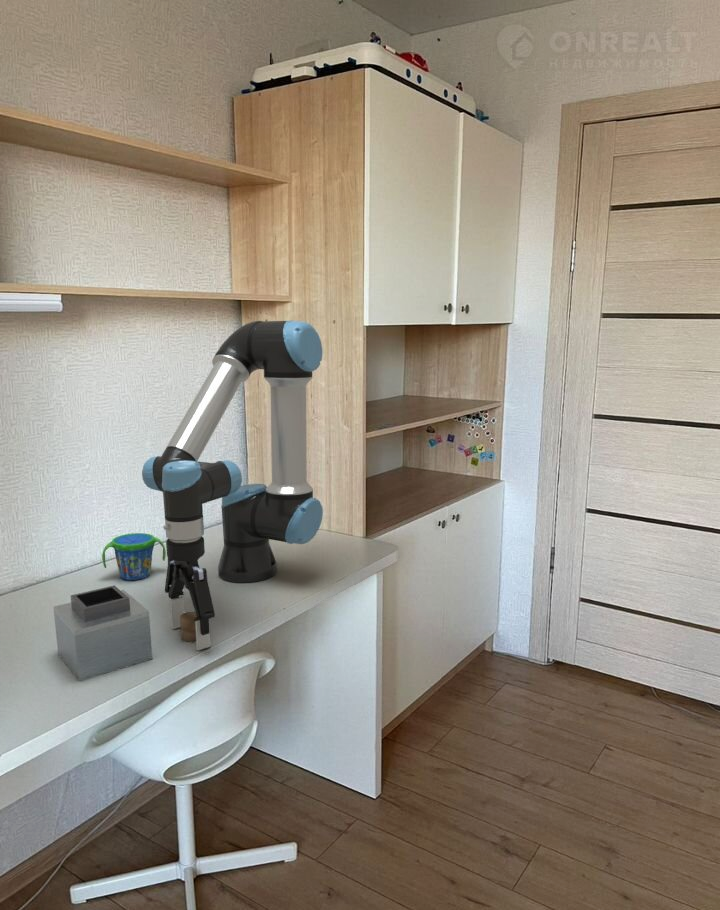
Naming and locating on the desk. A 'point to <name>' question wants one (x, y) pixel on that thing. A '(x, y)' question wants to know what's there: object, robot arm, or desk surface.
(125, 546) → the snack cup
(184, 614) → the pellet
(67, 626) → the grey block with socket
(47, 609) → the desk surface
